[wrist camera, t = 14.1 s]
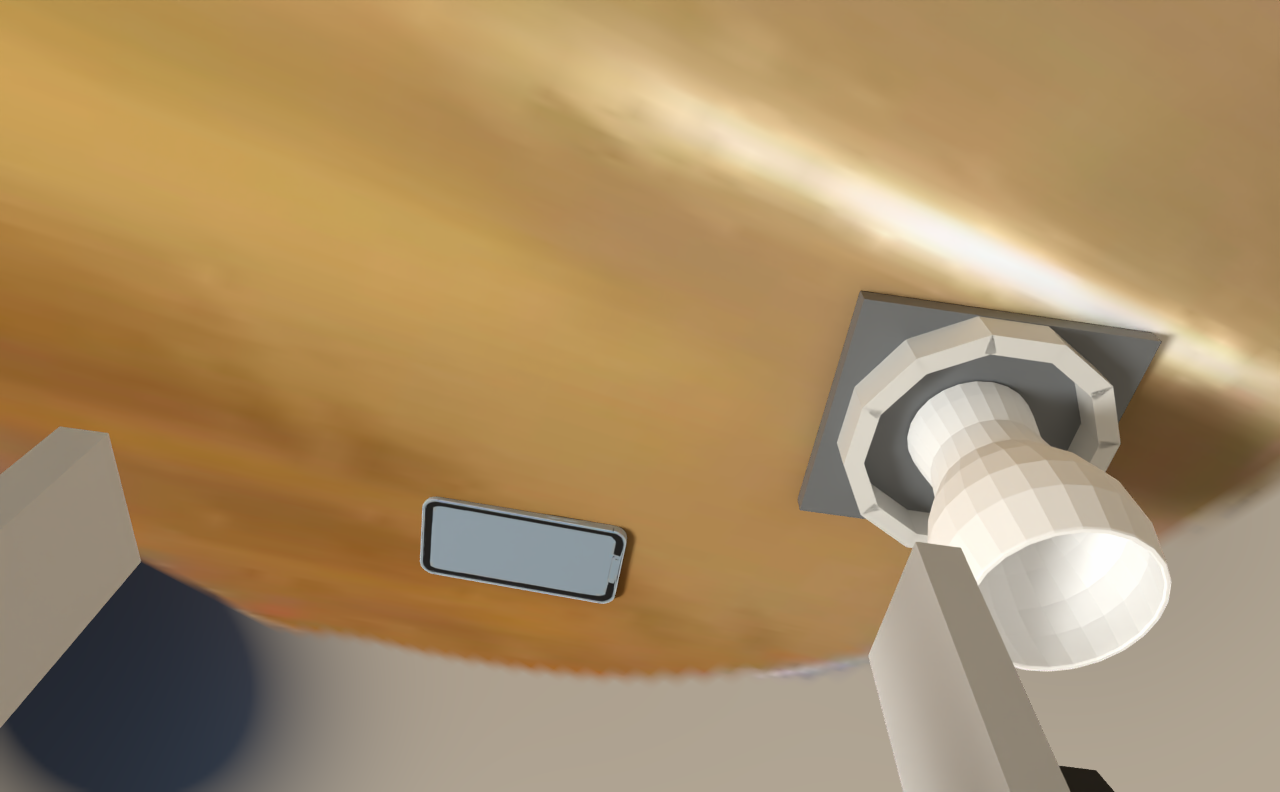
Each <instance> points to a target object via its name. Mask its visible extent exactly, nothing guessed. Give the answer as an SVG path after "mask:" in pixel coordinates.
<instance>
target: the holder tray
mask: <svg viewBox="0 0 1280 792" xmlns="http://www.w3.org/2000/svg"><path fill="white" fill-rule="evenodd" d="M1161 342H1162V341H1160V340H1159V339H1158V338H1157V337H1156V336H1155V335H1153V334H1152V333H1150V332H1143V331H1136V330H1129V329H1122V328H1115V327H1108V326H1102V325H1095V324H1088V323H1081V322H1074V321H1067V320H1060V319H1053V318H1046V317H1039V316H1032V315H1025V314H1018V313H1011V312H1004V311H997V310H990V309H983V308H976V307H969V306H962V305H955V304H948V303H942V302H935V301H928V300H921V299H914V298H907V297H900V296H893V295H886V294H879V293H872V292H865V291H860V293H859V297H858V300H857V303H856V307H855V310H854V313H853V317H852V320H851V323H850V327H849V330H848V333H847V337H846V340H845V343H844V347H843V350H842V353H841V357H840V360H839V363H838V367H837V370H836V373H835V377H834V380H833V383H832V387H831V390H830V393H829V397H828V400H827V403H826V407H825V410H824V413H823V417H822V420H821V423H820V427H819V430H818V433H817V437H816V440H815V443H814V447H813V450H812V453H811V457H810V460H809V463H808V467H807V470H806V473H805V477H804V480H803V483H802V486H801V490H800V493H799V496H798V503H799V508H800V510H803V511H810V512H818V513H825V514H833V515H840V516H847V517H855V518H862V519H867V520H869V521H870V522H871V523H873V524H874V525H876V526H877V527H879V528H880V529H881V530H883V531H884V532H886V533H887V534H889V535H890V536H891V537H893V538H894V539H896V540H897V541H899V542H900V543H901V544H903V545H904V546H906V547H910V548H913V546H914V544H915V542H922V543H927V540H928V518H929V515H930V511H931V508H932V504H933V501H934V498H935V496H934V492H933V487H932V486H931V485H930V484H929V482H928V481H927V480H926V479H925V477H924V476H923V475H922V474H921V472H920V471H919V469H918V468H917V466H916V465H915V463H914V462H913V460H912V457H911V455H910V453H909V451H908V441H907V436H908V432H909V428H910V424H911V422H912V420H913V419H914V417H915V415H916V414H917V412H918V411H919V409H920V408H921V407H922V406H923V405H924V404H925V403H926V402H927V401H928V400H929V399H931V398H932V397H934V396H935V395H937V394H938V393H940V392H941V391H943V390H946V389H948V388H951V387H953V386H956V385H958V384H963V383H969V382H975V381H981V382H994V383H998V384H1001V385H1004V386H1008V387H1009V388H1011V389H1012V390H1014V391H1015V392H1017V393H1018V394H1020V395H1021V397H1022V398H1023V399H1024V400H1025V402H1026V403H1027V404H1028V406H1029V408H1030V410H1031V412H1032V414H1033V416H1034V419H1035V422H1036V425H1037V427H1038V430H1039V433H1040V436H1041V438H1042V439H1043V440H1044V441H1045V442H1046V443H1048V444H1049V445H1050V446H1051V447H1055V448H1058V449H1062V450H1065V451H1069V452H1072V453H1074V454H1076V455H1077V456H1079V457H1081V458H1082V459H1084V460H1086V461H1087V462H1089V463H1091V464H1092V465H1094V466H1096V467H1097V468H1099V469H1101V470H1102V471H1104V472H1106V470H1107V468H1108V466H1109V464H1110V462H1111V461H1112V459H1113V457H1114V455H1115V453H1116V451H1117V450H1118V448H1119V446H1120V444H1121V443H1120V435H1119V427H1118V423H1119V421H1120V419H1121V417H1122V415H1123V413H1124V411H1125V410H1126V408H1127V406H1128V404H1129V402H1130V400H1131V398H1132V396H1133V395H1134V393H1135V391H1136V389H1137V387H1138V385H1139V383H1140V381H1141V379H1142V378H1143V376H1144V374H1145V372H1146V370H1147V368H1148V366H1149V364H1150V363H1151V361H1152V359H1153V357H1154V355H1155V353H1156V351H1157V349H1158V347H1159V346H1160V344H1161Z"/></svg>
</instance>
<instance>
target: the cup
mask: <svg viewBox="0 0 1280 792" xmlns="http://www.w3.org/2000/svg"><path fill="white" fill-rule="evenodd" d="M907 441H908V451H909V453H910V455H911V457H912V460H913V462H914V463H915V465H916V466H917V468H918V469H919V471H920V472H921V474H922V475H923V476H924V477H925V479H926V480H927V481H928V482H929V484H930V485H931V486H932V487H933V492H934V496H935V498H934V501H933V504H932V508H931V511H930V515H929V518H928V540H927V543H930V544H937V545H945V546H952V547H960V548H961V549H962V551H963V553H964V555H965V558H966V560H967V562H968V564H969V567H970V569H971V571H972V573H973V575H974V578H975V580H976V582H977V584H978V587H979V589H980V591H981V593H982V596H983V598H984V600H985V602H986V604H987V607H988V609H989V611H990V613H991V616H992V618H993V620H994V622H995V625H996V627H997V629H998V631H999V633H1000V636H1001V638H1002V640H1003V642H1004V645H1005V647H1006V649H1007V651H1008V654H1009V656H1010V658H1011V660H1012V662H1013V665H1014V667H1016V668H1020V669H1023V670H1034V671H1058V670H1067V669H1075V668H1079V667H1083V666H1086V665H1089V664H1093V663H1097V662H1100V661H1102V660H1105V659H1107V658H1109V657H1111V656H1113V655H1115V654H1117V653H1120V652H1122V651H1124V650H1125V649H1127V648H1128V647H1129V646H1131V645H1132V644H1134V643H1135V642H1136V641H1137V640H1139V639H1140V638H1142V637H1143V636H1144V635H1145V634H1146V633H1147V632H1148V631H1149V630H1150V629H1151V628H1152V627H1153V626H1154V625H1155V623H1156V622H1157V621H1158V620H1159V619H1160V617H1161V615H1162V613H1163V611H1164V609H1165V607H1166V605H1167V603H1168V601H1169V595H1170V588H1171V576H1170V573H1169V569H1168V565H1167V562H1166V559H1165V556H1164V554H1163V551H1162V548H1161V546H1160V543H1159V540H1158V537H1157V535H1156V532H1155V529H1154V527H1153V524H1152V522H1151V521H1150V520H1149V518H1148V517H1147V516H1146V515H1145V513H1144V512H1143V511H1142V509H1141V508H1140V507H1139V506H1138V504H1137V503H1136V502H1135V501H1134V499H1133V498H1132V497H1131V496H1130V494H1129V493H1128V492H1127V491H1126V489H1125V488H1124V487H1123V486H1122V484H1121V483H1120V482H1119V481H1118V480H1116V479H1115V478H1113V477H1112V476H1110V475H1109V474H1107V473H1105V472H1104V471H1102V470H1101V469H1099V468H1097V467H1096V466H1094V465H1092V464H1091V463H1089V462H1087V461H1086V460H1084V459H1082V458H1081V457H1079V456H1077V455H1076V454H1074V453H1072V452H1069V451H1065V450H1062V449H1058V448H1055V447H1051V446H1050V445H1049V444H1048V443H1046V442H1045V441H1044V440H1043V439H1042V438H1041V436H1040V433H1039V430H1038V427H1037V425H1036V422H1035V419H1034V416H1033V414H1032V412H1031V410H1030V408H1029V406H1028V404H1027V403H1026V402H1025V400H1024V399H1023V398H1022V397H1021V395H1020V394H1018V393H1017V392H1015V391H1014V390H1012V389H1011V388H1009V387H1008V386H1004V385H1001V384H998V383H994V382H981V381H975V382H969V383H963V384H958V385H956V386H953V387H951V388H948V389H946V390H943V391H941V392H940V393H938V394H937V395H935V396H934V397H932V398H931V399H929V400H928V401H927V402H926V403H925V404H924V405H923V406H922V407H921V408H920V409H919V411H918V412H917V414H916V415H915V417H914V419H913V420H912V422H911V424H910V428H909V432H908V436H907Z"/></svg>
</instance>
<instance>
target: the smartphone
mask: <svg viewBox="0 0 1280 792" xmlns="http://www.w3.org/2000/svg"><path fill="white" fill-rule="evenodd" d="M626 542H627V535H626V532H625V531H624V530H623V529H622V528H620V527H618V526H614V525H608V524H601V523H595V522H589V521H583V520H577V519H571V518H565V517H559V516H553V515H546V514H540V513H534V512H528V511H522V510H516V509H510V508H504V507H498V506H491V505H485V504H479V503H473V502H467V501H461V500H455V499H449V498H442V497H431V498H428V499H427V500H426V501H425V502H424V505H423V508H422V531H421V554H420V563H421V566H422V567H423V569H424V570H426V571H427V572H429V573H432V574H437V575H443V576H449V577H454V578H460V579H466V580H471V581H477V582H483V583H488V584H494V585H499V586H505V587H511V588H516V589H522V590H528V591H533V592H539V593H545V594H550V595H556V596H562V597H567V598H573V599H579V600H584V601H590V602H596V603H608V602H610V601H612V600H613V599H614V597H615V594H616V589H617V585H618V580H619V575H620V571H621V566H622V562H623V557H624V552H625V548H626Z"/></svg>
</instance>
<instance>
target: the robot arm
mask: <svg viewBox="0 0 1280 792" xmlns="http://www.w3.org/2000/svg"><path fill="white" fill-rule="evenodd" d="M140 562H141V560H140V556H139V552H138V548H137V544H136V540H135V536H134V532H133V528H132V524H131V520H130V516H129V513H128V509H127V505H126V501H125V497H124V493H123V489H122V485H121V481H120V477H119V473H118V469H117V465H116V461H115V457H114V454H113V450H112V446H111V442H110V438H109V434H108V433H103V432H96V431H88V430H81V429H74V428H66V427H59V428H57V429H56V430H55V431H54V432H52V433H51V434H50V435H49V436H47V437H46V438H45V439H44V440H43V441H41V442H40V443H39V444H38V445H36V446H35V447H34V448H33V449H31V450H30V451H29V452H28V453H26V454H25V455H24V456H23V457H22V458H20V459H19V460H18V461H17V462H15V463H14V464H13V465H12V466H10V467H9V468H8V469H7V470H5V471H4V472H3V473H2V474H1V475H0V728H1V726H2V725H3V724H4V723H5V722H6V720H7V719H8V718H9V717H10V716H11V715H12V713H13V712H14V711H15V710H16V709H17V707H18V706H19V705H20V704H21V703H22V702H23V700H24V699H25V698H26V697H27V696H28V694H29V693H30V692H31V691H32V690H33V689H34V687H35V686H36V685H37V684H38V683H39V681H40V680H41V679H42V678H43V677H44V676H45V674H46V673H47V672H48V671H49V670H50V668H51V667H52V666H53V665H54V664H55V663H56V661H57V660H58V659H59V658H60V656H61V655H62V654H63V653H64V652H65V651H66V650H67V648H68V647H69V646H70V645H71V644H72V642H73V641H74V640H75V639H76V638H77V636H78V635H79V634H80V633H81V632H82V631H83V629H84V628H85V627H86V626H87V625H88V623H89V622H90V621H91V620H92V619H93V618H94V616H95V615H96V614H97V613H98V612H99V611H100V609H101V608H102V607H103V606H104V605H105V603H106V602H107V601H108V600H109V599H110V598H111V596H112V595H113V594H114V593H115V592H116V590H117V589H118V588H119V587H120V585H121V584H122V583H123V582H124V581H125V580H126V579H127V577H128V576H129V575H130V574H131V572H133V570H134V569H135V568H136V567H137V566H138V564H139V563H140ZM869 660H870V664H871V668H872V672H873V676H874V680H875V684H876V688H877V691H878V695H879V699H880V703H881V707H882V711H883V715H884V719H885V723H886V727H887V731H888V734H889V738H890V742H891V746H892V750H893V754H894V758H895V762H896V766H897V770H898V774H899V778H900V781H901V785H902V789H903V792H1114V791H1113V789H1112V788H1111V787H1110V786H1109V785H1108V784H1107V783H1106V781H1105V780H1104V779H1103V778H1102V777H1101V776H1100V774H1099V773H1098V772H1097V771H1096V770H1089V769H1081V768H1073V767H1065V766H1059V765H1058V763H1057V761H1056V759H1055V756H1054V754H1053V752H1052V750H1051V747H1050V745H1049V743H1048V741H1047V738H1046V736H1045V734H1044V732H1043V730H1042V727H1041V725H1040V723H1039V720H1038V718H1037V716H1036V714H1035V712H1034V710H1033V707H1032V705H1031V703H1030V700H1029V698H1028V696H1027V694H1026V691H1025V689H1024V687H1023V685H1022V683H1021V680H1020V678H1019V676H1018V674H1017V671H1016V669H1015V667H1014V665H1013V662H1012V660H1011V658H1010V656H1009V654H1008V651H1007V649H1006V647H1005V645H1004V642H1003V640H1002V638H1001V636H1000V633H999V631H998V629H997V627H996V625H995V622H994V620H993V618H992V616H991V613H990V611H989V609H988V607H987V604H986V602H985V600H984V598H983V596H982V593H981V591H980V589H979V587H978V584H977V582H976V580H975V578H974V575H973V573H972V571H971V569H970V567H969V564H968V562H967V560H966V558H965V555H964V553H963V551H962V549H961V548H960V547H952V546H945V545H937V544H930V543H922V542H915V544H914V546H913V549H912V551H911V554H910V556H909V558H908V561H907V563H906V566H905V568H904V571H903V573H902V575H901V578H900V580H899V583H898V585H897V588H896V590H895V592H894V595H893V597H892V600H891V602H890V605H889V607H888V609H887V612H886V614H885V617H884V619H883V622H882V624H881V626H880V629H879V631H878V634H877V636H876V639H875V641H874V643H873V646H872V648H871V651H870V653H869Z"/></svg>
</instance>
